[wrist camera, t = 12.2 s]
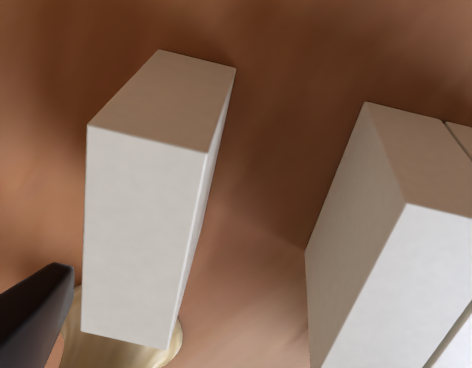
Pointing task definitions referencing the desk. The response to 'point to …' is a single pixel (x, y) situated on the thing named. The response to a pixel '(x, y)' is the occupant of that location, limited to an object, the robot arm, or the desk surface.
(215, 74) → the plain white rectangular box
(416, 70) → the desk surface
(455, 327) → the cream rectangular block
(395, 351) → the cream book
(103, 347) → the hand bell
